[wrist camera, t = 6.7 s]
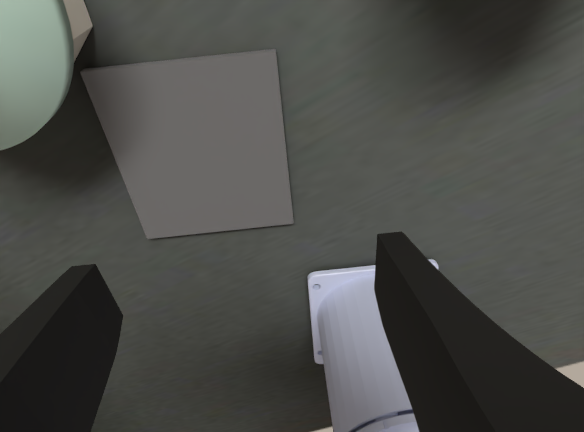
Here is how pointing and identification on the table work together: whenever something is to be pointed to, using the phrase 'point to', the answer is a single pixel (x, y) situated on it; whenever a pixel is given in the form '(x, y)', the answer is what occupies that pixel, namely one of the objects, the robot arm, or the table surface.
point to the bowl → (78, 23)
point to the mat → (197, 141)
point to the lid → (32, 66)
